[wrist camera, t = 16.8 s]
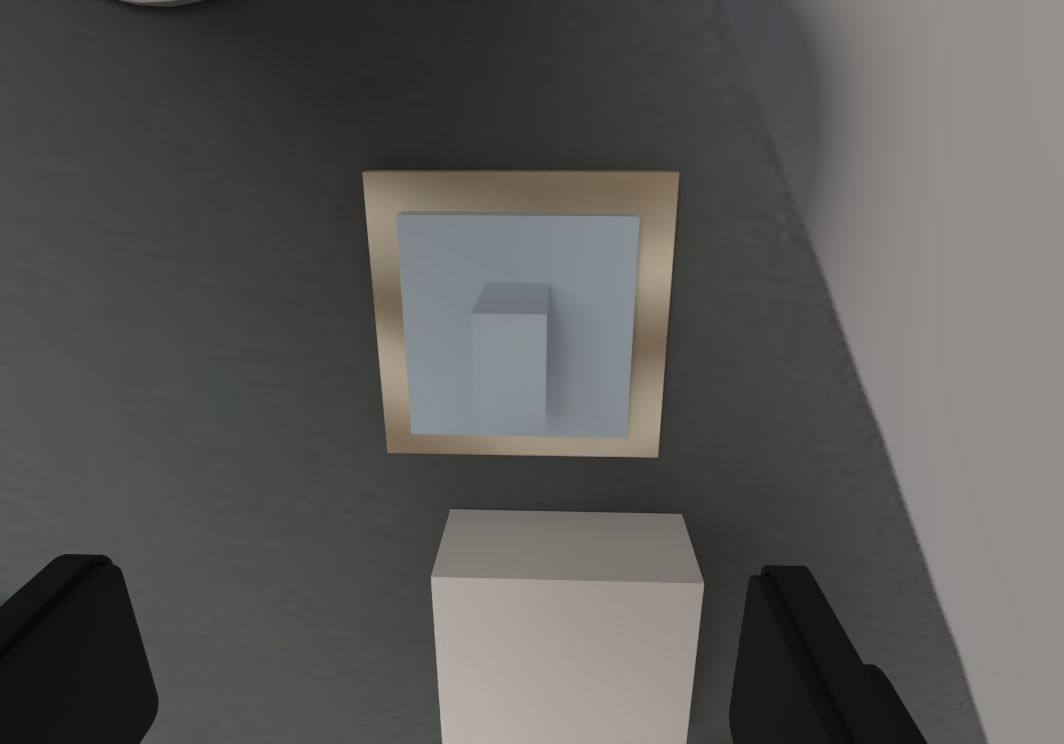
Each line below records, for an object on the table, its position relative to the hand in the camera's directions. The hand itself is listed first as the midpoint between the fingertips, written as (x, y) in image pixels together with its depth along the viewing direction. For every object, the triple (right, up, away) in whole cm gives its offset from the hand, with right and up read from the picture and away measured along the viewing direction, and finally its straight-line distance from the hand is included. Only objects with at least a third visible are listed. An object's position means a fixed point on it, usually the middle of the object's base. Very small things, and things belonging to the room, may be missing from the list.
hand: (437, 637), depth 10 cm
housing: (+3, -8, +23) cm, 24 cm away
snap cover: (+1, +6, +17) cm, 18 cm away
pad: (+1, +6, +18) cm, 19 cm away
